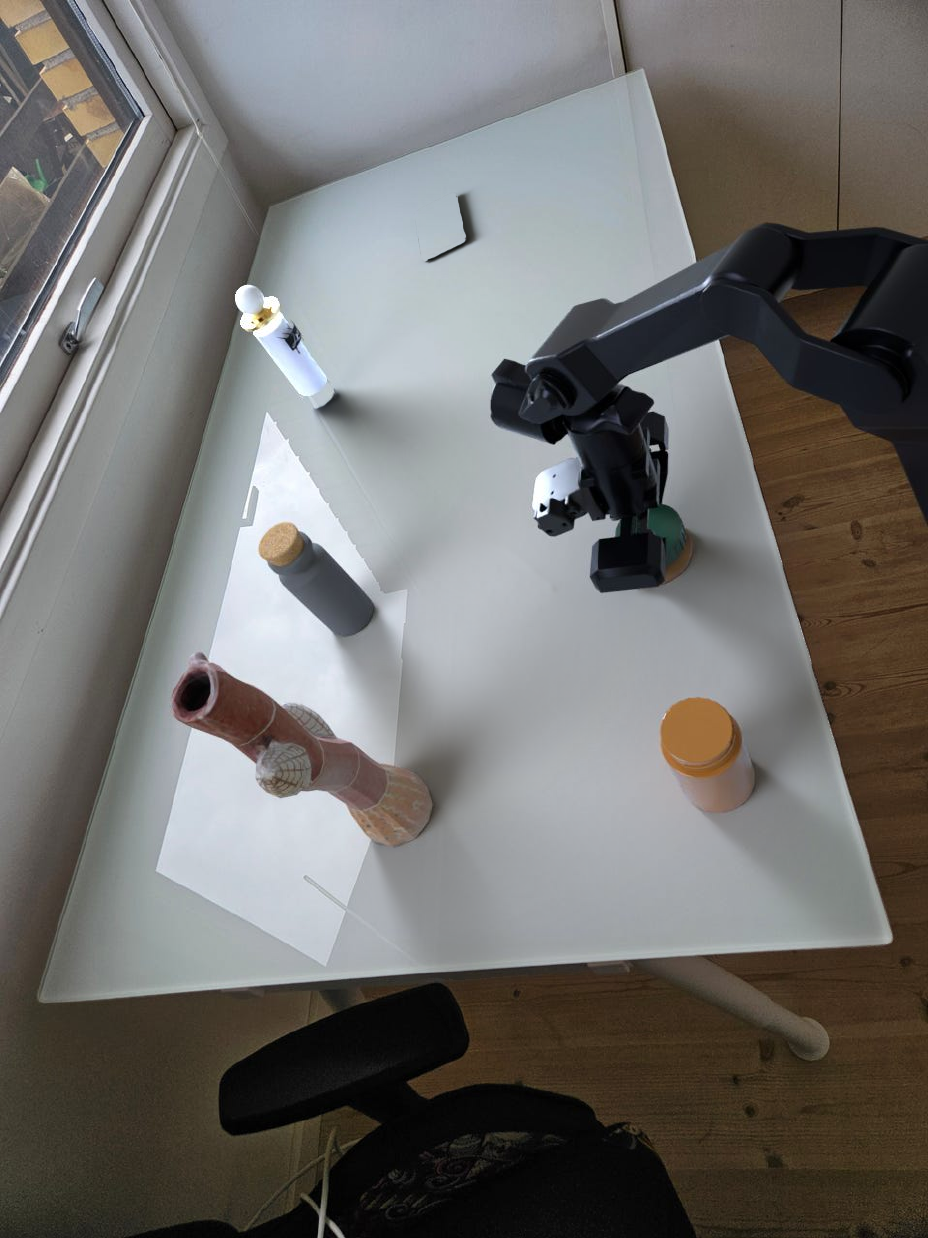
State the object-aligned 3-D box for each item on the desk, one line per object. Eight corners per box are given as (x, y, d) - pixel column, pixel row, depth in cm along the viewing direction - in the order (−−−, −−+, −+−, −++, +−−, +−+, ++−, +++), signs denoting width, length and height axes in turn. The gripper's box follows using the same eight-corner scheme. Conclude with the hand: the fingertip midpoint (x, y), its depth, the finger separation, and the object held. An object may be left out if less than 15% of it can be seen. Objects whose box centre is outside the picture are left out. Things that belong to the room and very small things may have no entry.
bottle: (321, 618, 96) (244, 545, 84) (358, 585, 96) (286, 508, 85) (344, 646, 92) (266, 573, 80) (382, 611, 92) (310, 534, 81)
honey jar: (771, 775, 66) (756, 725, 58) (720, 828, 65) (698, 784, 58) (714, 730, 70) (693, 678, 62) (665, 780, 69) (638, 733, 61)
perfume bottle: (304, 419, 118) (218, 310, 103) (310, 392, 121) (227, 281, 106) (338, 409, 116) (255, 295, 101) (343, 381, 119) (264, 267, 104)
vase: (365, 777, 82) (161, 630, 59) (431, 760, 79) (246, 600, 56) (365, 882, 75) (138, 764, 53) (437, 867, 73) (232, 736, 50)
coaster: (710, 546, 79) (709, 543, 79) (650, 601, 79) (649, 598, 78) (653, 509, 84) (652, 505, 84) (597, 560, 84) (595, 557, 83)
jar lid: (621, 520, 83) (615, 506, 81) (687, 511, 80) (682, 497, 78) (618, 574, 80) (612, 562, 78) (686, 567, 77) (681, 554, 75)
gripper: (532, 386, 77) (579, 490, 89) (509, 547, 68) (566, 638, 80) (649, 361, 72) (683, 473, 84) (642, 529, 63) (681, 629, 75)
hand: (651, 550), depth 81 cm, fingers closed on jar lid, 6 cm apart
